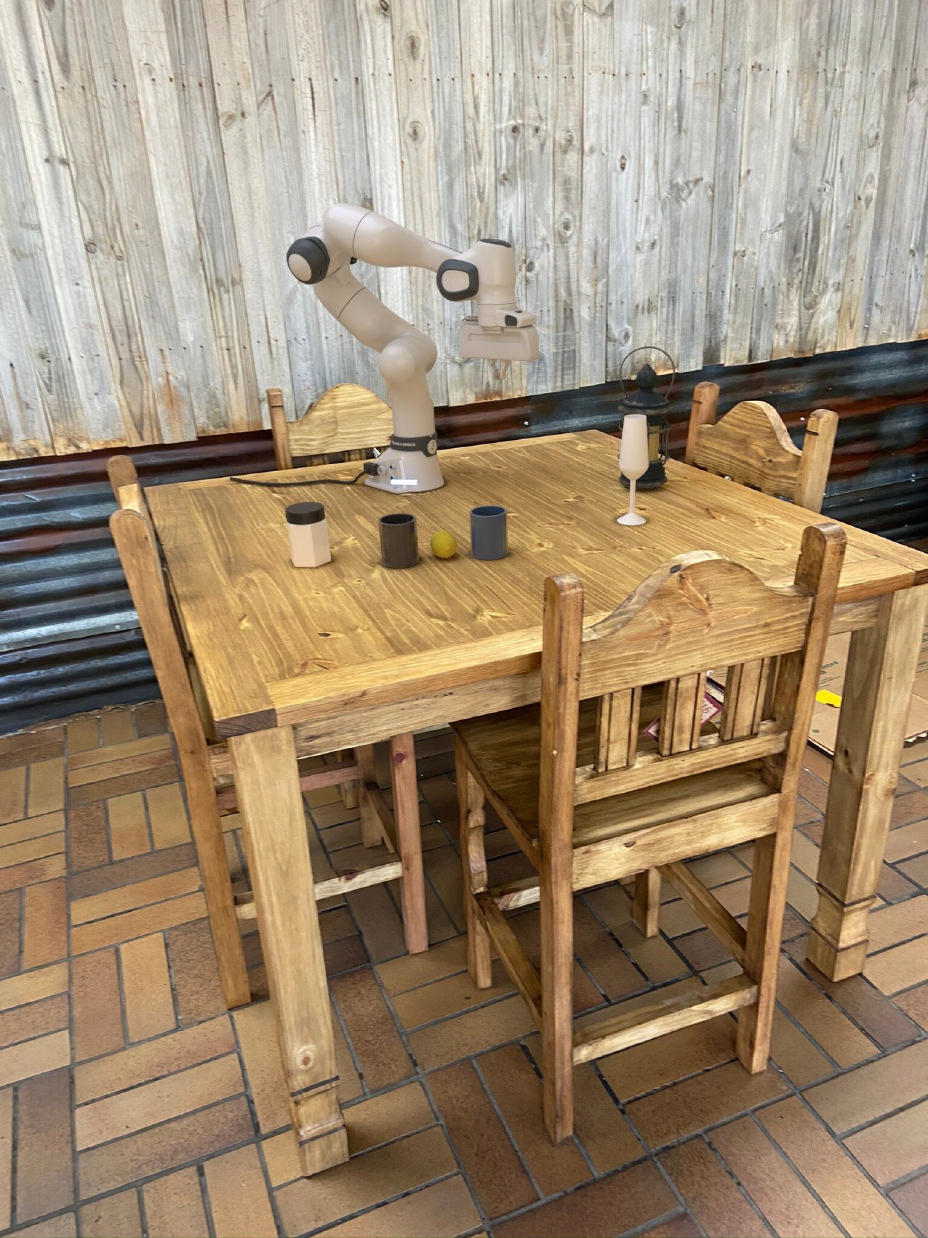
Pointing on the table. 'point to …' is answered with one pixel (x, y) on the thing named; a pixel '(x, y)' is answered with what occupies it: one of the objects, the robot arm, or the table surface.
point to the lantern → (649, 423)
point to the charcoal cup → (398, 540)
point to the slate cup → (488, 532)
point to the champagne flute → (633, 460)
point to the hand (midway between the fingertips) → (499, 379)
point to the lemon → (443, 544)
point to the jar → (307, 534)
